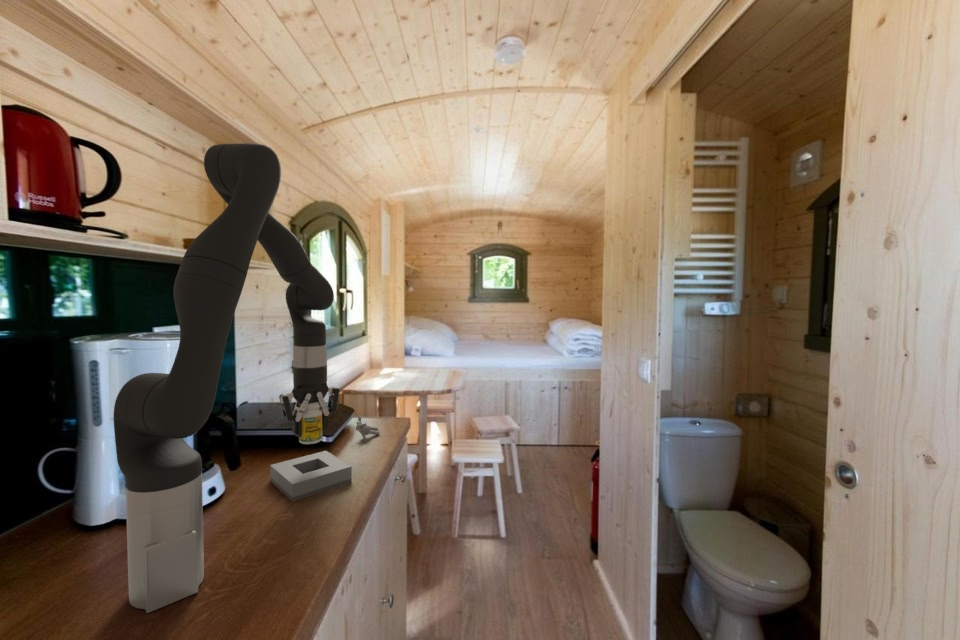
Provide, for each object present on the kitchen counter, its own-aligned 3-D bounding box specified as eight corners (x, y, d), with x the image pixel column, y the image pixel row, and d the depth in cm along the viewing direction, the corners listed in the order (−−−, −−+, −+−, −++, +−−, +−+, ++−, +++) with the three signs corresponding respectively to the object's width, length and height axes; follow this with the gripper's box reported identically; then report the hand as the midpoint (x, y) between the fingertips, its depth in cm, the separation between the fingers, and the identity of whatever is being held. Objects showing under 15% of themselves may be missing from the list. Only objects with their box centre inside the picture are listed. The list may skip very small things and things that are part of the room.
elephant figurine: (387, 439, 131) (365, 436, 125) (376, 450, 133) (353, 447, 126) (379, 414, 138) (358, 409, 131) (368, 424, 139) (346, 421, 132)
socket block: (351, 482, 100) (351, 466, 100) (292, 501, 90) (292, 484, 90) (325, 465, 110) (325, 450, 110) (270, 481, 100) (270, 465, 100)
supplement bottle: (317, 435, 103) (317, 397, 103) (326, 441, 99) (326, 402, 99) (295, 440, 100) (294, 401, 99) (303, 446, 96) (303, 406, 95)
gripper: (285, 369, 91) (285, 444, 92) (345, 362, 101) (345, 430, 102) (273, 365, 96) (273, 436, 97) (332, 359, 106) (332, 423, 107)
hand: (310, 432), depth 99 cm, fingers closed on supplement bottle, 5 cm apart
